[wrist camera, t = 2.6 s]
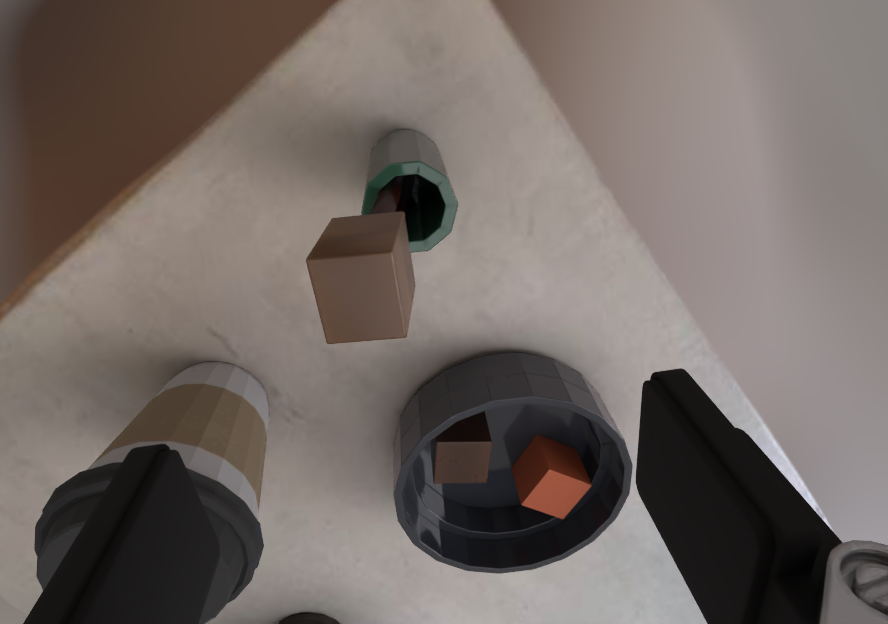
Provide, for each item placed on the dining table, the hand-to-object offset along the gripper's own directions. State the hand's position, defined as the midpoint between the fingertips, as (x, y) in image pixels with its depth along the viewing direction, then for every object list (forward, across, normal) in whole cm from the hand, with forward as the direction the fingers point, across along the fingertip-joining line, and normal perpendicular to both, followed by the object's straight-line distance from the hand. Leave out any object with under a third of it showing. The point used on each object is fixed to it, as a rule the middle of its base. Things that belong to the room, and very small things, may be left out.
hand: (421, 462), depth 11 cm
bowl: (+26, -5, +23) cm, 35 cm away
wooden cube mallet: (+25, 0, 0) cm, 25 cm away
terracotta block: (+25, -8, +25) cm, 36 cm away
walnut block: (+25, -1, +20) cm, 33 cm away
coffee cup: (+26, +16, +15) cm, 34 cm away
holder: (+26, 0, 0) cm, 26 cm away
